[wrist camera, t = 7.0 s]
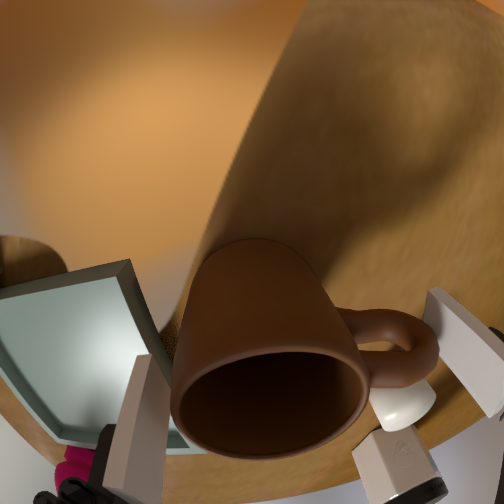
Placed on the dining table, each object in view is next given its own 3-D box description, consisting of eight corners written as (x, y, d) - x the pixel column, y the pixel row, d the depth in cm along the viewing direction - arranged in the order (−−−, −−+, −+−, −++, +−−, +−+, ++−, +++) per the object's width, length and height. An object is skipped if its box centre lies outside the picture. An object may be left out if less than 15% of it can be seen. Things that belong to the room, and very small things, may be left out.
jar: (421, 408, 25) (462, 481, 14) (408, 439, 28) (439, 502, 17) (352, 436, 25) (384, 522, 14) (349, 462, 28) (373, 532, 17)
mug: (378, 221, 16) (485, 291, 8) (368, 322, 19) (431, 417, 10) (180, 241, 16) (133, 350, 7) (202, 346, 19) (193, 467, 10)
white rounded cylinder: (414, 345, 21) (442, 381, 16) (405, 381, 23) (427, 417, 18) (364, 362, 21) (387, 405, 16) (359, 398, 23) (378, 438, 18)
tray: (129, 258, 16) (115, 276, 14) (207, 432, 23) (207, 453, 20) (-24, 294, 16) (-39, 307, 14) (63, 427, 22) (57, 442, 20)
